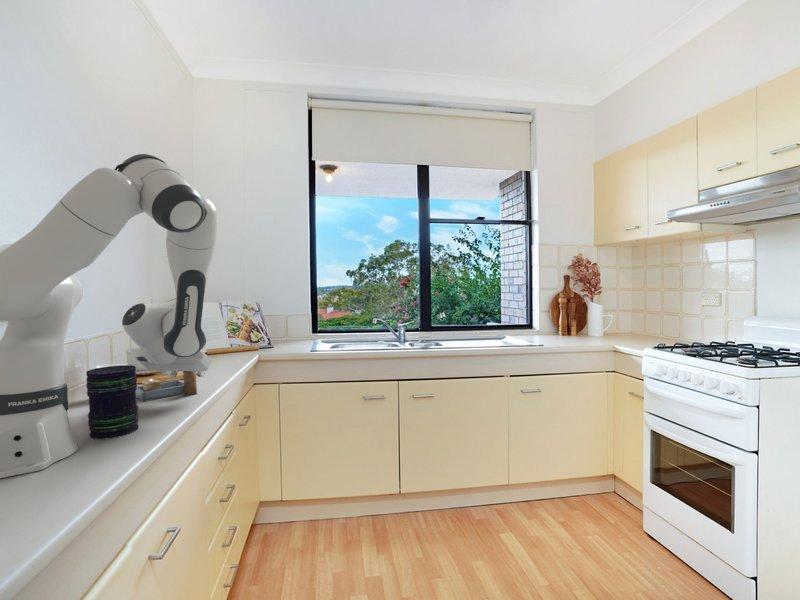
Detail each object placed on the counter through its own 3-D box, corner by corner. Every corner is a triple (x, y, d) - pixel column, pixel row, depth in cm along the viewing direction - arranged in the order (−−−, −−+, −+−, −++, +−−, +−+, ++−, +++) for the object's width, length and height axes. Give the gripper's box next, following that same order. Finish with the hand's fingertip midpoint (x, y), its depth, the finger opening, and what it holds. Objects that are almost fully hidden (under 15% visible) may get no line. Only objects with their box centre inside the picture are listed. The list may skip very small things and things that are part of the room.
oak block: (146, 397, 131) (146, 383, 130) (143, 394, 133) (142, 382, 133) (161, 394, 133) (160, 381, 133) (157, 392, 136) (156, 379, 136)
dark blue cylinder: (79, 441, 96) (76, 374, 95) (101, 427, 105) (98, 366, 105) (129, 437, 98) (125, 371, 97) (145, 423, 107) (143, 364, 107)
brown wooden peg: (186, 396, 133) (185, 370, 133) (182, 394, 136) (181, 369, 136) (198, 394, 136) (197, 369, 136) (194, 392, 139) (193, 367, 138)
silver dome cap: (144, 394, 134) (143, 381, 134) (141, 392, 136) (141, 380, 136) (155, 392, 136) (154, 379, 136) (152, 390, 139) (151, 378, 138)
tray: (142, 401, 129) (142, 392, 129) (133, 395, 136) (133, 387, 136) (190, 392, 138) (190, 384, 138) (179, 387, 146) (179, 379, 146)
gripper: (202, 339, 124) (222, 366, 134) (139, 340, 128) (164, 366, 138) (193, 357, 120) (215, 384, 130) (128, 358, 123) (154, 383, 134)
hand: (188, 375), depth 134 cm, fingers open, 8 cm apart
